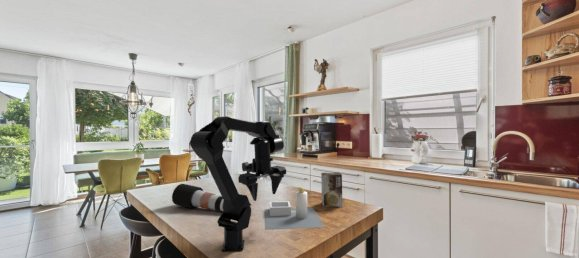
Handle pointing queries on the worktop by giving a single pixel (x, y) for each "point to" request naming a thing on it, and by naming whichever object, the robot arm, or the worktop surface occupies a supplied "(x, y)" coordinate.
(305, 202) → the white cylindrical bottle
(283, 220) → the board
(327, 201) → the coffee box
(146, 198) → the worktop surface
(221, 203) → the telephoto camera lens
